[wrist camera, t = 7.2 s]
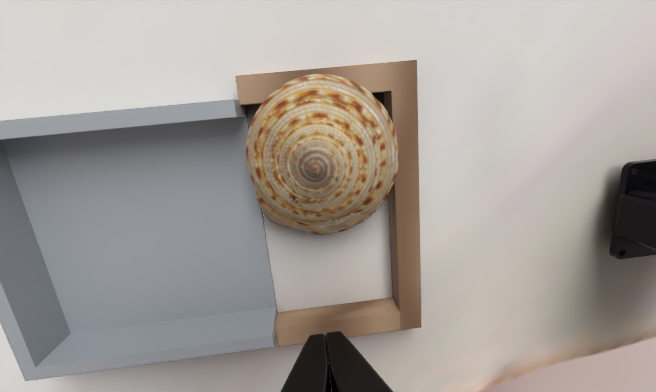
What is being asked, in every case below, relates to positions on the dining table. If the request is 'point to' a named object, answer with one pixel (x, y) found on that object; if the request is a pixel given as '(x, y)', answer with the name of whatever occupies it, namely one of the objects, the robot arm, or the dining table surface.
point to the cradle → (403, 207)
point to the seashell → (321, 154)
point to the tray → (131, 239)
